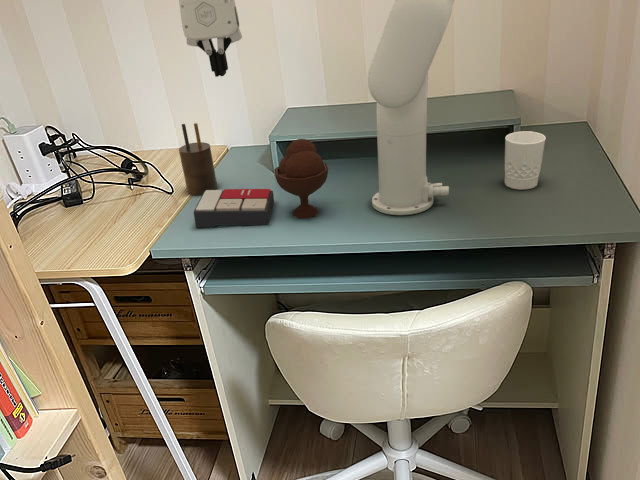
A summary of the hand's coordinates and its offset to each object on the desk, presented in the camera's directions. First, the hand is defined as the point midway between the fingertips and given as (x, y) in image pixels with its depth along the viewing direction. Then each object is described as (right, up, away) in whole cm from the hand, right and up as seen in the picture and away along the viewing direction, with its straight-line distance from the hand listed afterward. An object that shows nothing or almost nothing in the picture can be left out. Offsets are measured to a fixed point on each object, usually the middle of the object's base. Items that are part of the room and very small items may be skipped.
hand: (220, 74), depth 127 cm
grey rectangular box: (+2, -27, +9) cm, 28 cm away
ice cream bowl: (+17, -26, +7) cm, 32 cm away
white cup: (+62, -20, +10) cm, 66 cm away
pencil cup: (-8, -18, +22) cm, 30 cm away
